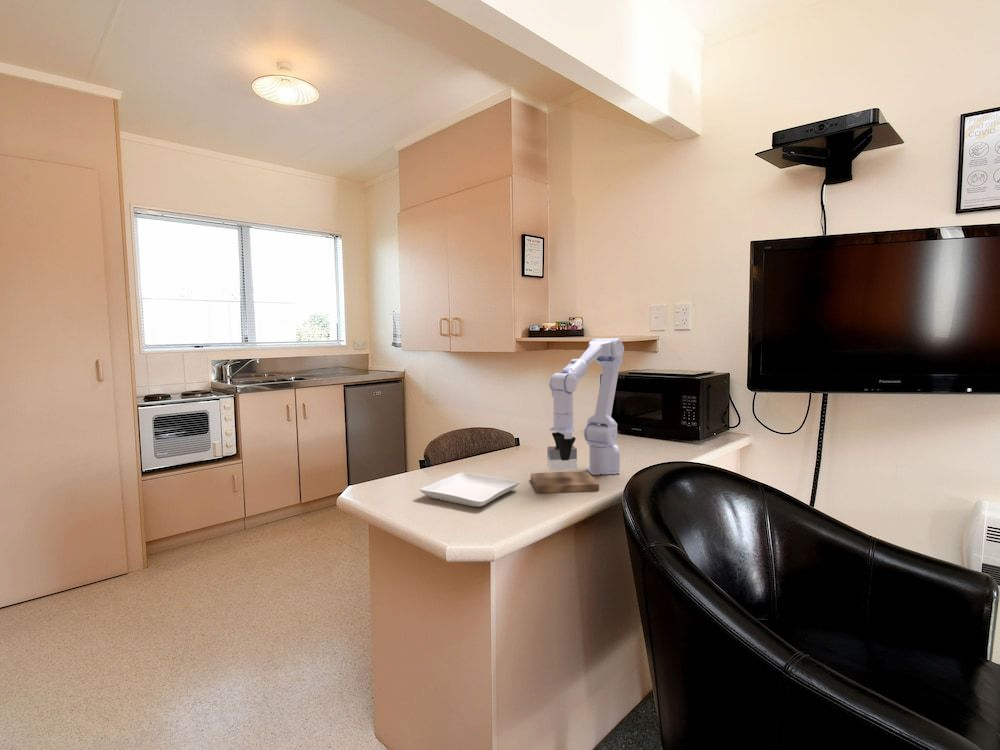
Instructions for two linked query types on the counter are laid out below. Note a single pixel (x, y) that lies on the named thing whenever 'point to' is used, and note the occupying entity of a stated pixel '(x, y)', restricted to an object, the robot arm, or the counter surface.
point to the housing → (557, 462)
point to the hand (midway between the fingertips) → (563, 458)
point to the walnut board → (564, 482)
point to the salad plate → (469, 489)
